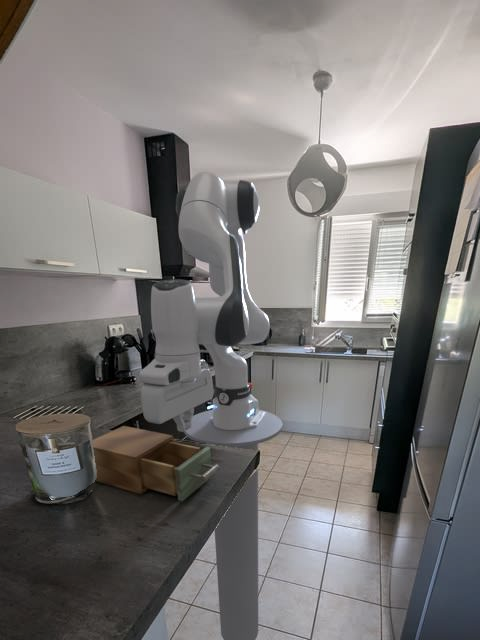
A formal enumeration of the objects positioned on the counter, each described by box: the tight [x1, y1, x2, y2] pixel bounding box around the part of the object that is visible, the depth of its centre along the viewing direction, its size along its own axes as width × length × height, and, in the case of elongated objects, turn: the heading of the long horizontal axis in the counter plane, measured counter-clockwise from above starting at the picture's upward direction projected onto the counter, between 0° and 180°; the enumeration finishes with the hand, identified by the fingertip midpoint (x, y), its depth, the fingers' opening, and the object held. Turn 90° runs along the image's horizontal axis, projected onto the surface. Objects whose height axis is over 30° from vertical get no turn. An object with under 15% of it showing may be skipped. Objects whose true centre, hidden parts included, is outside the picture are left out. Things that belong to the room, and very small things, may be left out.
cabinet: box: [91, 425, 175, 495], centre depth 89 cm, size 17×14×10 cm
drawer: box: [138, 441, 220, 502], centre depth 84 cm, size 20×12×8 cm, turn 64°
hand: (184, 429), depth 78 cm, fingers closed
